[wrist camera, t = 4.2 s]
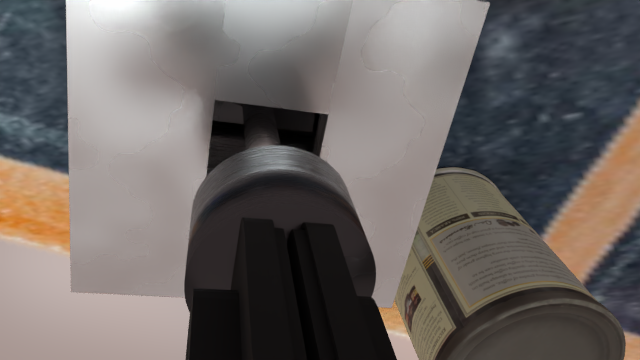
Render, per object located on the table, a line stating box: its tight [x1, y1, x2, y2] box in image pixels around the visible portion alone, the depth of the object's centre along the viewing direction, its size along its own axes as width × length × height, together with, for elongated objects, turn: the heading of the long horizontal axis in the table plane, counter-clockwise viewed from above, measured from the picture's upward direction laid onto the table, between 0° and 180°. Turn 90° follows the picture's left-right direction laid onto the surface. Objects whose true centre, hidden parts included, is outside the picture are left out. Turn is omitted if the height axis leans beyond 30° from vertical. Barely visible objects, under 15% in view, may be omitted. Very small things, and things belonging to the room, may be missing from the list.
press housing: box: [66, 0, 490, 308], centre depth 23 cm, size 18×18×18 cm
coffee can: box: [394, 167, 625, 360], centre depth 34 cm, size 10×10×14 cm
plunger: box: [184, 100, 376, 311], centre depth 17 cm, size 7×7×16 cm
